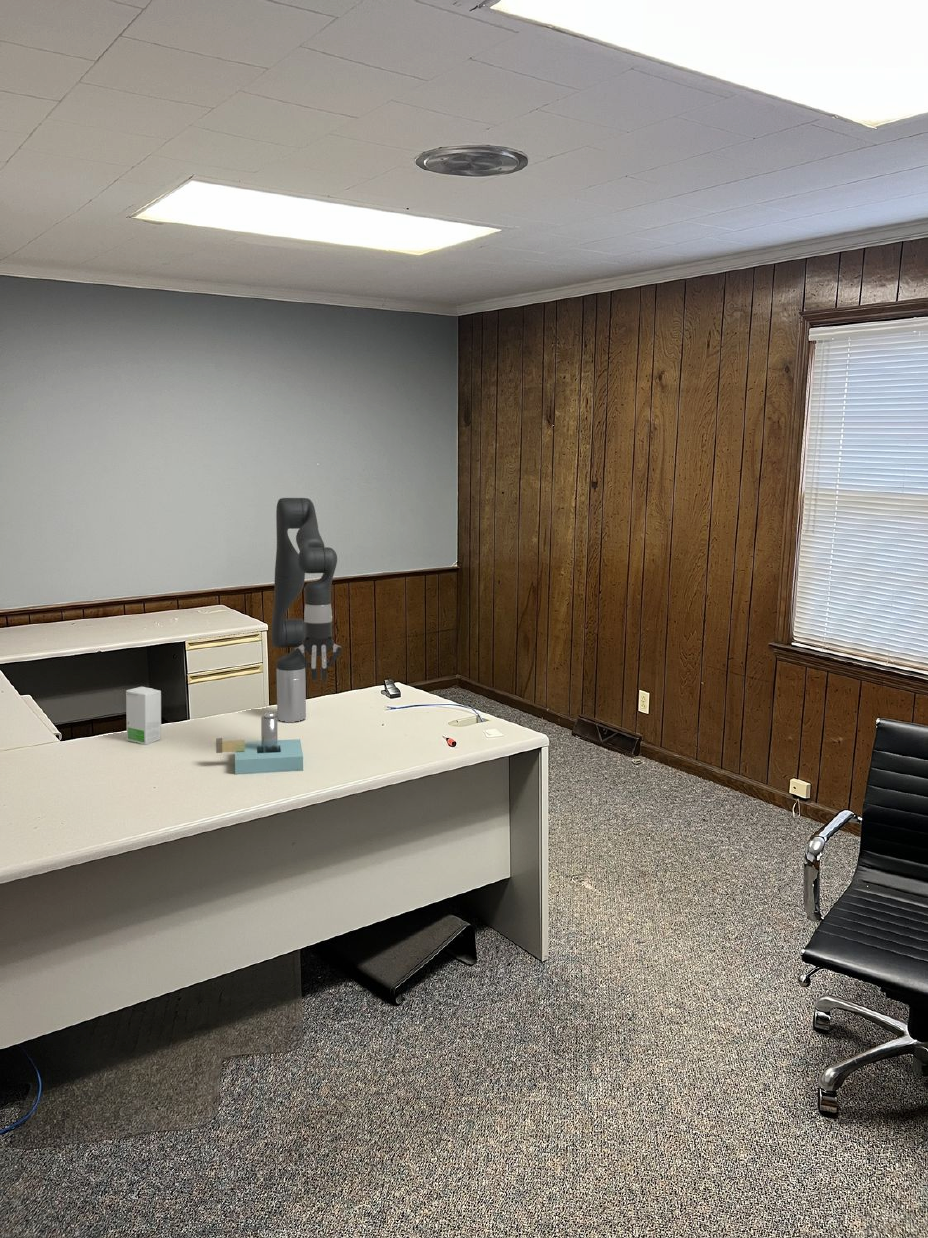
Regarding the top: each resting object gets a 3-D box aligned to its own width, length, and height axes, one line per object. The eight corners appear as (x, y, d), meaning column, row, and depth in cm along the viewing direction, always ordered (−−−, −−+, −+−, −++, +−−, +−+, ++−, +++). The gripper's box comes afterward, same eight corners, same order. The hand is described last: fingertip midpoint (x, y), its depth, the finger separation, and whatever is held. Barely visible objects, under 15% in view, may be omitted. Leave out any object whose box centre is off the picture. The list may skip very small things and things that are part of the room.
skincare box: (126, 741, 271) (123, 690, 268) (143, 735, 277) (141, 685, 274) (146, 745, 267) (144, 694, 265) (163, 739, 273) (161, 689, 270)
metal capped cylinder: (261, 757, 255) (261, 711, 253) (277, 756, 256) (277, 711, 254) (261, 762, 250) (261, 715, 249) (277, 761, 251) (277, 715, 249)
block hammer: (216, 749, 251) (216, 738, 250) (244, 748, 253) (244, 737, 252) (216, 753, 248) (215, 741, 247) (244, 751, 249) (244, 740, 249)
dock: (236, 755, 259) (236, 742, 258) (300, 752, 263) (300, 739, 262) (235, 774, 243) (235, 760, 243) (303, 770, 248) (303, 756, 247)
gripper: (341, 617, 255) (342, 677, 258) (292, 618, 252) (293, 679, 255) (344, 621, 248) (344, 683, 250) (293, 622, 244) (294, 685, 247)
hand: (318, 680), depth 252 cm, fingers closed
